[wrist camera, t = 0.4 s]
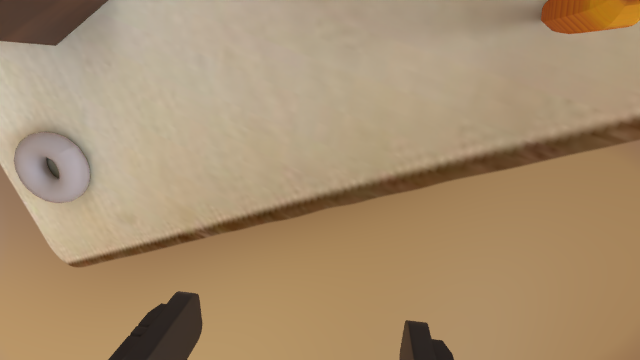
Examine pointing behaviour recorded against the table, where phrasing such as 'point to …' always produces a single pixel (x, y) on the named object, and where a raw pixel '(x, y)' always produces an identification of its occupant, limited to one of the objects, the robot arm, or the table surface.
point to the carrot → (589, 15)
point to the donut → (37, 173)
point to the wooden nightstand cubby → (43, 19)
